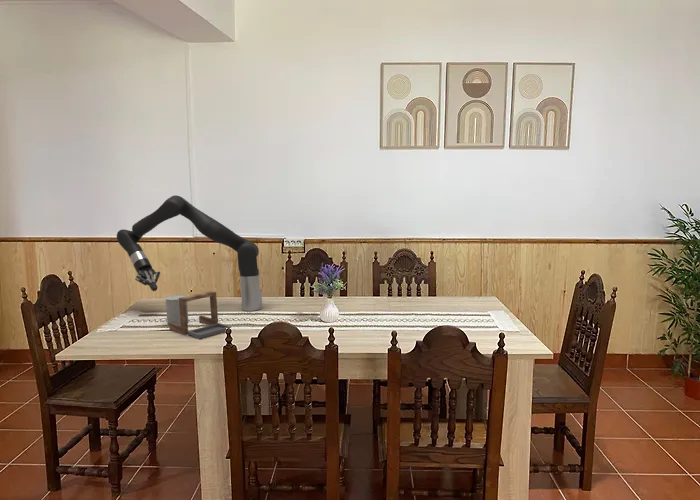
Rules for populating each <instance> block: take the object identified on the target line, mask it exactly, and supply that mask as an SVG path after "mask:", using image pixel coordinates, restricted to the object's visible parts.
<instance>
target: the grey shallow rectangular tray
mask: <svg viewBox="0 0 700 500" xmlns="http://www.w3.org/2000/svg"><path fill="white" fill-rule="evenodd" d="M226 328H231V329H232V326H230V325H227V324H225V323H220V322H218V323H217V324H213V325H205V326H202V327H198V328H194V329H191V330H188V335H187V336H188V337H191V338H194V339H197V338H198V339H197V340H204V339H206V338H210V337H214V336H218V335H221V333H222V334H224V333H225V334H226V332H225V330H226ZM203 338H204V339H203Z"/></svg>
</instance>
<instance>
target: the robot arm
mask: <svg viewBox="0 0 700 500" xmlns="http://www.w3.org/2000/svg"><path fill="white" fill-rule="evenodd" d="M179 215H180V216H182V217H184V218H185V219H187V220H189V221H190V222H191V223H192V224H193V226H194V227H195V228H196V229H197V230H198V232H199V233H200V234H202V235H203V236H204V237H206V238H208V239H209V240H211V241H213V242H215V243H218V244H220V245H223V246H227V247H228V248H231V249H233V250H234V251H235V252H236V253H237V264H238V271H239V280H240V295H241V296H240V297H241V299H240V300H241V310H242V311H243V312H253V311H258V310H260V309H263V294H262V289H261V288H260V287H261V286H260V271H259V268H258V256H259V252H260V251H259V247H258V245H257V244H256V243H254V242H252V241H250V240H248V239H246V238H245V237H243V236H240V235H238V234H237V233H235V232H234V231H233V230H231V229H229V228H228V227H227V226H226V225H224V224H222V223H221V222H219V221H218V220H216V219H215V218H214V217H211V216H209V215H208V214H206V213H204V212H203V211H201V210H200V209H198V208H197V207H195V206H194V205H193V204H192V203H191V202H189V201H187V199H185V198H184V197H182V196H179V195H178V194H177V195H172V196H170V197H169V198H167V199H166V200H165V201H164V202H163V203H162V204H161V205H160V206H159V207H158V208H157V209H156V210H154V211H153V212H152V213H150V214H148V215H146V216H145V217H143V218H141V219H140V220H138V221H137V222H135V223H134V224H132V227H131V230H128V229H125V228H124V229H120V230H118V231H117V234H116V240H117V242H118V244H119V245H120V246H121V248H123V250H124V251H126V253H127V255H128V257H129V259H130V262H131V264H132V266H133V268H134V269H135V271H136V274H137V275H136V276H135V278H134V280H136V281H137V282H138V283H140V284H141V285H144V286H149V288H150V290H151V291H153V292H156V291H157V290H158V285H157V283H158V282H159V281H158V280H159V278H160V275H161V272H160V271H156V270H155V269H153V266H152V264H151V262H150V260H149V259H148V257H147V255H146V254H145V251H144V249H143V248H142V246H141V245H140V244H139V243H138V242H139V241H140V240H141V239H142V238H143V236H145V235H146V234H147V233H149V232H150V231H152V230H153V229H155V228H156V227H157V226H158V225H160V224H161V223H164V222H166V221H167V220H170V219H172V218H175V217H177V216H179Z"/></svg>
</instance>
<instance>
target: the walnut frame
mask: <svg viewBox="0 0 700 500" xmlns="http://www.w3.org/2000/svg"><path fill="white" fill-rule="evenodd" d="M186 296H187V297H182V298H179V307H180V320H181V325H178V324H175V323H169V325H168V326H169V327H168V328H169V331H171V332H175V333H178V334H181V335H182V336H183V335H184V336H188V331H189V326H188V324H189V322H188V323H187V310H186V302H187V303H188V302H193V301H196V300H200V299H205V298H209V304H210V317H209V316H206V315H202V314H201V315H199V316H198V321H199V323H200V324H202V325H206V326H209V325H213V324H217V323H219V315H218V314H219V313H218V300H217V291H214V290H211V291H205V292H201V293H196V294H192V295H186Z"/></svg>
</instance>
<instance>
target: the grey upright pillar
mask: <svg viewBox="0 0 700 500" xmlns="http://www.w3.org/2000/svg"><path fill="white" fill-rule="evenodd" d="M187 296H188V295H185V294H174V295H169V296H166V297H164V298H165V307H166V309H165V310H166V321H167V326H169V323H175V324H178V325H181V320H180V307H179V298H182V297H187ZM186 310H187V323H188V324H189V322H190V321H189V313H188V311H189V310H188V302H186Z"/></svg>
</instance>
